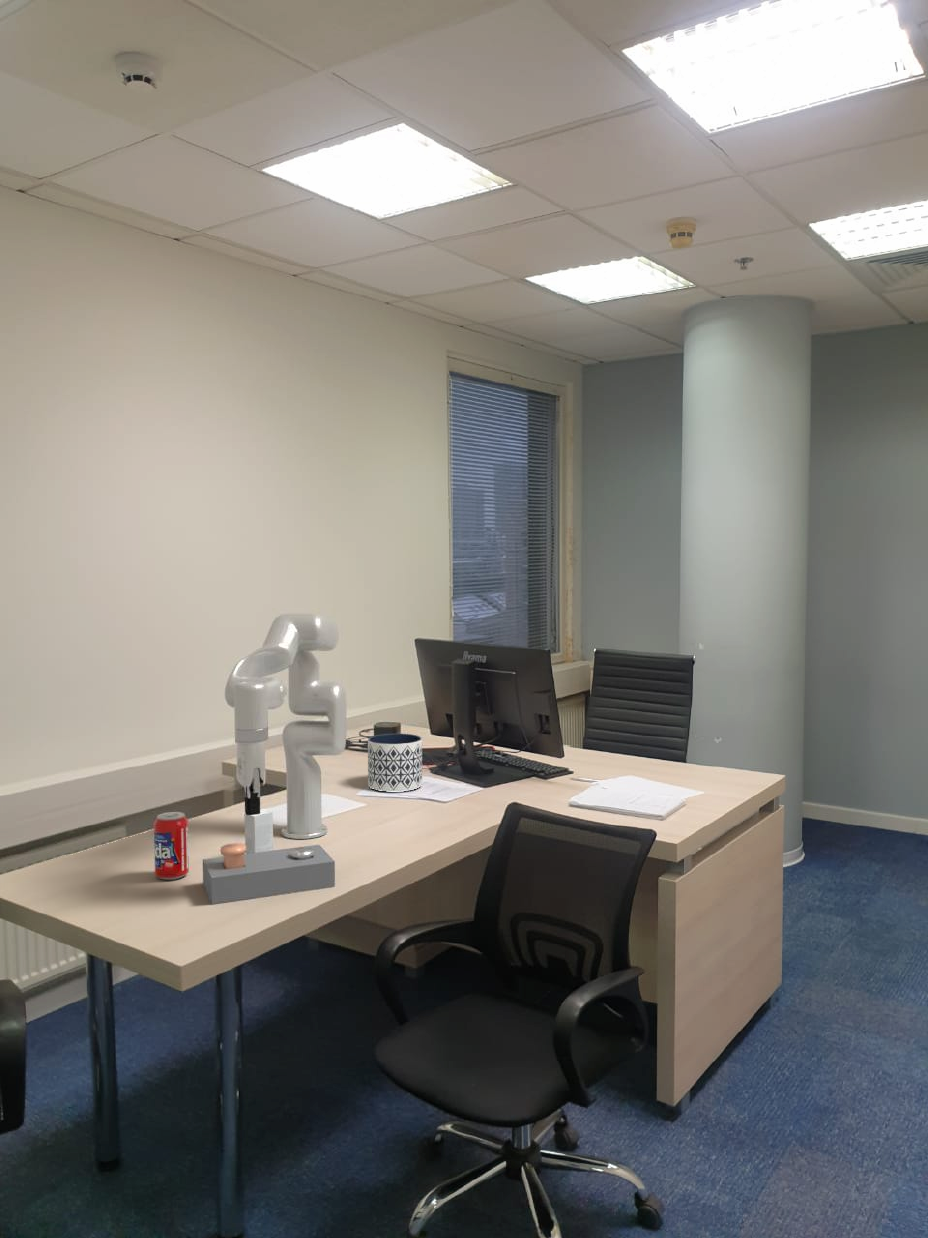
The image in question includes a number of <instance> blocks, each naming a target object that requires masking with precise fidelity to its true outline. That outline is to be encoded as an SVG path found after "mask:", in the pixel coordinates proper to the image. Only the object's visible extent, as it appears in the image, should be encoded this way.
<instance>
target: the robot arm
mask: <svg viewBox="0 0 928 1238" xmlns="http://www.w3.org/2000/svg"><path fill="white" fill-rule="evenodd" d="M339 636H340V634H339V629H338V626H337V624H336V622H335V621H334V620H333V619H331V618H329V617H327V616H325V615H322V614H319V613H294V612H291V613H283V614H280V615H278V616H276V617H275V618H274V620H273V621H272V623H271V626H270V628H269V629H268V632H267V634H266V637H265V640H263V641H264V642H263V643H262V646H261V647H260V648H257V649H256V650H254V651H253V652H251V653H249V654H248V655H246V656H245V657H243V658H242V659H240V660H239V661H238V662H237V663H236V664H235V665H234V667H233V669H232V670H231V673H230V674H229V676H228V679H227V682H226V685H225V688H224V699H225V702H226V704H227V705H229V706H230V707H231V708H233V710H234V714H233V715H234V743H235V744H237V747H236V748H237V750H236V769H235V770H236V772H235V773H236V774H235V775H236V781H237V782H238V783H239V784H240V785H241V786H242V787H244V814H246V815H256V814H260V809H261V787H263V786H265V784H266V750H265V749H266V748H265V743H268V742H269V710H275V709H278V708H280V707H281V706H282V705H283V704H284V703H285V701H286V700H287V698H288V709H289V711H290V712H291V713H292V714H294V715H296V716H303V717H304V716H305V717H306V716H307V717H308V716H309V717H314V716H315V717H326V718H327V719H328V720H306V719H305V720H303V719H301V720H294V721H290V722H289V723H287V724H285V726H284V727H283V730H282V736H281V737H282V738H281V739H282V744H283V750H284V757H285V767H286V768H285V770H286V774H285V775H286V825H285V826H284V827H283V828H282V829H281V835H282V836H283V837H285V838H288V839H292V840H293V839H294V840H306V839H314V838H319V837H321V836H324V835H326V834H327V833H328V827H327V825H325V824H323V823H322V821H323V820H322V814H323V813H322V770H321V767H320V765H319V763H318V761H317V759H315V756H327V757H328V756H332V757H333V756H339V755H342V753H344V752H345V750H346V747H347V745H346V744H347V694H346V690H345V688H344V686H343V685H342V684H341V683H340V682H336V681H321V679H320V678H321V677H320V663H319V660H318V657H317V656H316V655H315V654H314V652H315V651H317V652H330V651H332V650H334V649H335V648H336V647H337V645H338V644H339V643H338V642H339ZM313 651H314V652H313ZM286 669H288V688H287V686H286V684H285V682H284V681H283V680H282V679H280V678H278V677H267V676H270V675H274V674H277V673H279V672H283V671H284V670H286ZM287 689H288V690H287ZM287 695H288V696H287Z"/></svg>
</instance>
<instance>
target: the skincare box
mask: <svg viewBox="0 0 928 1238" xmlns="http://www.w3.org/2000/svg"><path fill="white" fill-rule="evenodd" d="M273 816H274V815H273V811H272V810H268V809H264V808H260V814H256V815H246V814H245V813H244V816H243V818H244V843H245V844H244V845H246V852H245V853H244V854H249V853H257V852H265V851H273V850H275V848H274V824H273V823H274V821H273V820H274V818H273Z"/></svg>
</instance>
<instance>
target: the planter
mask: <svg viewBox="0 0 928 1238" xmlns="http://www.w3.org/2000/svg"><path fill="white" fill-rule="evenodd" d="M421 785H422V786H423V738H422V736H419V735H417V734H410V733H385V734H384V733H383V734H377V735H373V736H370V737H368V738H367V786H368V788H369V787H371V788H374V789H377V790H382V791H402V790H410V789H414V788H417V787H419V786H421ZM422 786H421V787H422ZM371 788H370V789H371Z"/></svg>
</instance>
